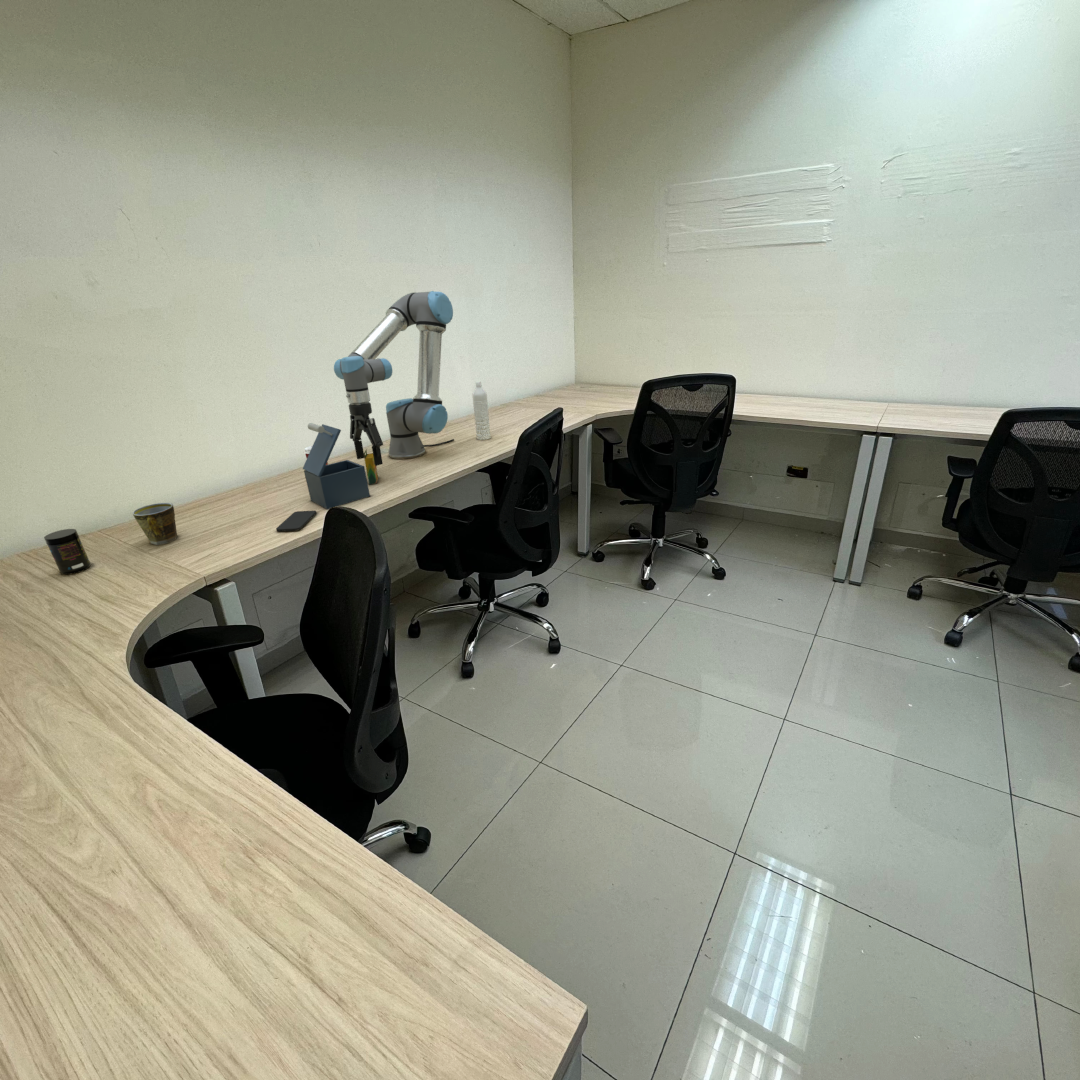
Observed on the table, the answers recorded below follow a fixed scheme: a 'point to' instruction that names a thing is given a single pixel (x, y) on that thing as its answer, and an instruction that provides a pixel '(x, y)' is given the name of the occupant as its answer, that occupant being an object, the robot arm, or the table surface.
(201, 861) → the table surface
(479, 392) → the water bottle
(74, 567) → the supplement container
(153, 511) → the ceramic cup
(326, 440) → the lid
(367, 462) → the crayon box
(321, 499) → the chest
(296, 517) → the phone
